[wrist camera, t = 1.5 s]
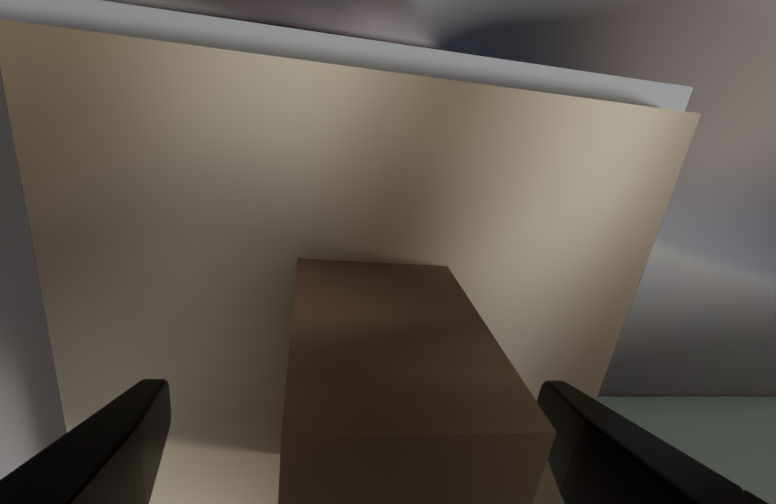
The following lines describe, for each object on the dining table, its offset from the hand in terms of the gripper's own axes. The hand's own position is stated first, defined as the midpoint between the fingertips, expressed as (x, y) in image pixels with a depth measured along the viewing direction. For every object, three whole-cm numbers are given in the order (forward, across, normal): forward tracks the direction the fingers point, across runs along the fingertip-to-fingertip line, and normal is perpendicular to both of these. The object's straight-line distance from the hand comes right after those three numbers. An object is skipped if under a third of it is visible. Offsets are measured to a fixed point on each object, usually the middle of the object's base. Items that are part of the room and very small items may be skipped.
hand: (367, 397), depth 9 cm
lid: (+2, 0, 0) cm, 2 cm away
